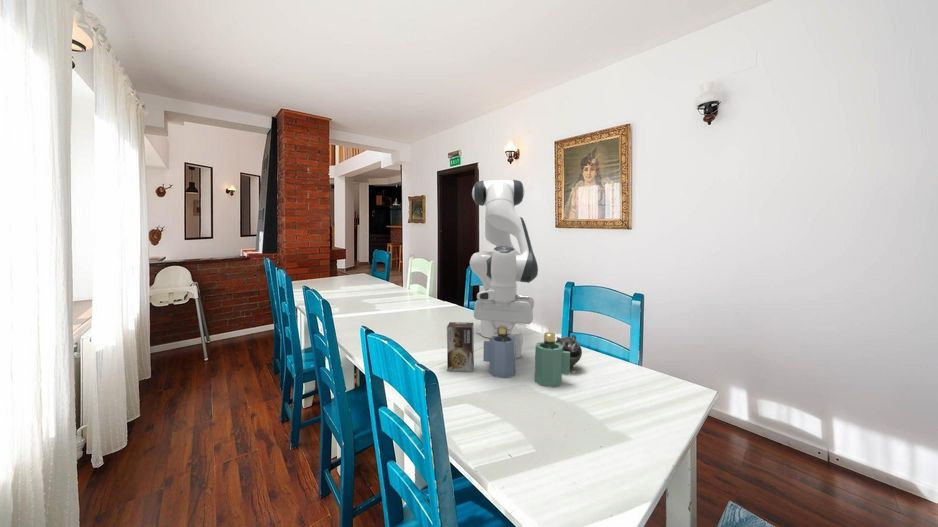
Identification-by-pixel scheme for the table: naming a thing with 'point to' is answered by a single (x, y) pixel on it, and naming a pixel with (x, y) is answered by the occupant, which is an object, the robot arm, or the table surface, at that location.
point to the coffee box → (460, 346)
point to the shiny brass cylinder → (549, 339)
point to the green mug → (551, 364)
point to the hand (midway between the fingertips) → (502, 333)
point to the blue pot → (500, 356)
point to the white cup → (517, 340)
